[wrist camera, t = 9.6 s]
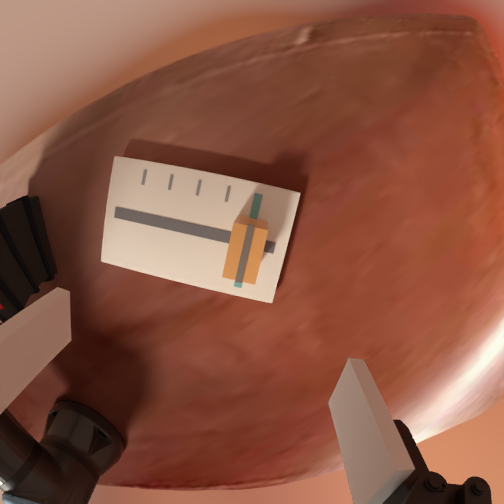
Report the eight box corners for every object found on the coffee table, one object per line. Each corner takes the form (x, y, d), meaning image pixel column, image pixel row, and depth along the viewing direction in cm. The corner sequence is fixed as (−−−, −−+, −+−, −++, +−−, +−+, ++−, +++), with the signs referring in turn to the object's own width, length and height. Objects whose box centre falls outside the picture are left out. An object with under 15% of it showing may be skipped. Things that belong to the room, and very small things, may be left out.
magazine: (28, 171, 31) (-39, 245, 19) (70, 250, 39) (30, 334, 28) (11, 180, 31) (-53, 252, 20) (53, 255, 40) (12, 335, 28)
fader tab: (256, 269, 32) (254, 286, 28) (227, 262, 32) (221, 278, 28) (267, 220, 31) (268, 229, 26) (238, 213, 31) (233, 221, 26)
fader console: (271, 296, 35) (271, 303, 33) (108, 256, 35) (100, 261, 33) (298, 192, 32) (300, 193, 30) (122, 156, 32) (114, 156, 30)
